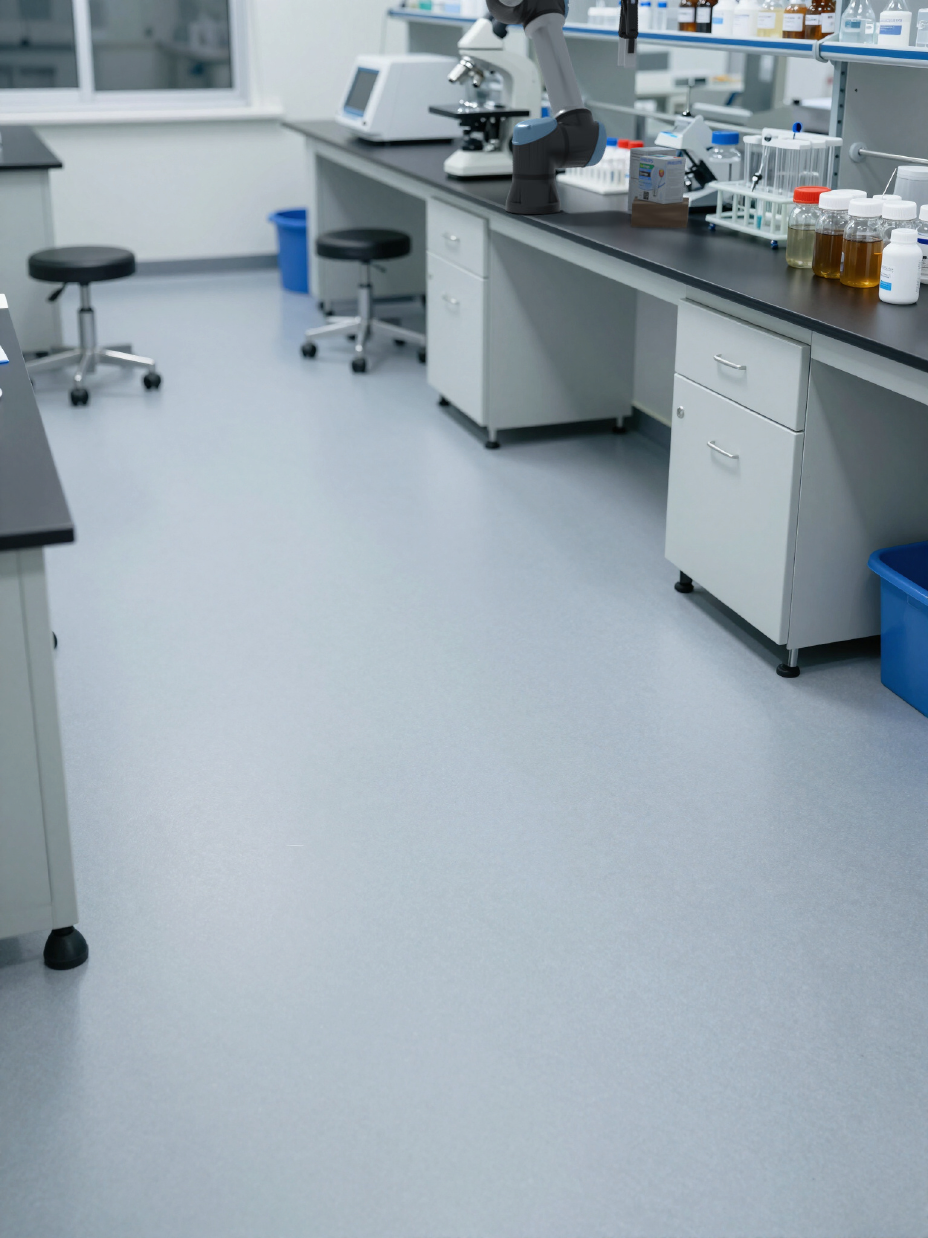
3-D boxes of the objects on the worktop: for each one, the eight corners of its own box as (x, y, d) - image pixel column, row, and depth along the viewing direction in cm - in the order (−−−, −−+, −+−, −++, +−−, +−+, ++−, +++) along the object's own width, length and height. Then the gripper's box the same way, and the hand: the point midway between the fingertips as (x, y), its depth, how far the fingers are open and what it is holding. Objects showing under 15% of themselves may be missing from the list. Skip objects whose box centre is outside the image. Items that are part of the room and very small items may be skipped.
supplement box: (673, 215, 338) (678, 148, 331) (643, 217, 335) (647, 150, 328) (656, 211, 346) (660, 145, 339) (626, 213, 343) (629, 147, 336)
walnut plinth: (634, 219, 335) (635, 196, 333) (687, 221, 333) (689, 197, 330) (630, 228, 323) (632, 203, 320) (686, 229, 321) (688, 204, 318)
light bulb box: (636, 199, 327) (638, 155, 322) (656, 197, 330) (658, 153, 326) (664, 204, 319) (666, 158, 314) (684, 202, 322) (687, 157, 318)
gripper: (610, -27, 321) (606, 64, 330) (621, -30, 299) (617, 68, 308) (639, -27, 321) (634, 64, 331) (653, -30, 299) (647, 68, 308)
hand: (626, 66), depth 319 cm, fingers open, 13 cm apart
